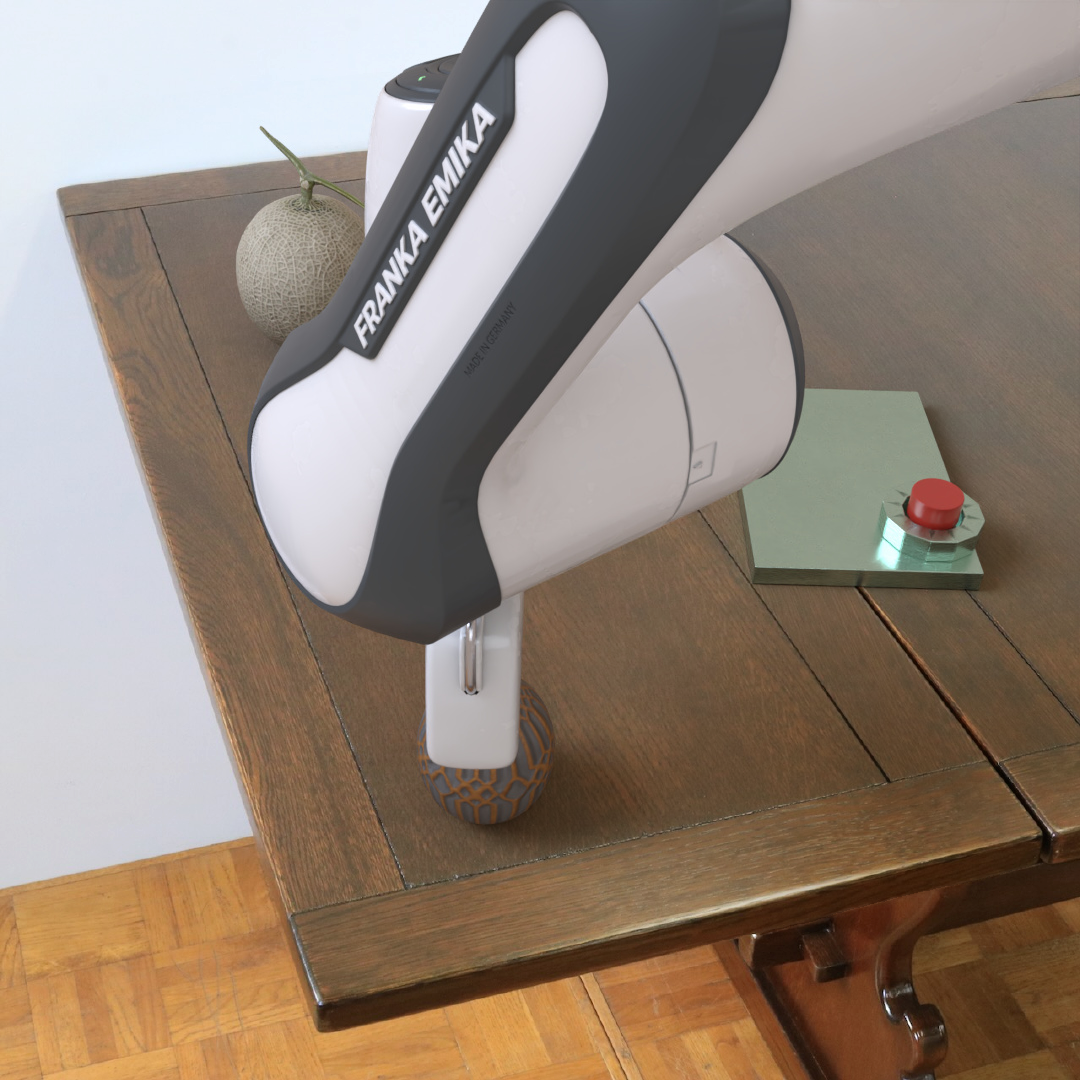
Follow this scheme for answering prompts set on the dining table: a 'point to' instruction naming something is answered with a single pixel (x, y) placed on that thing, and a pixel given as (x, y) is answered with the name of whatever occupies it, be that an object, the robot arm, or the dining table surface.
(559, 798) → the dining table surface
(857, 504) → the green metallic slab
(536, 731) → the vase
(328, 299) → the fruit
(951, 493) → the button
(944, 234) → the dining table surface
